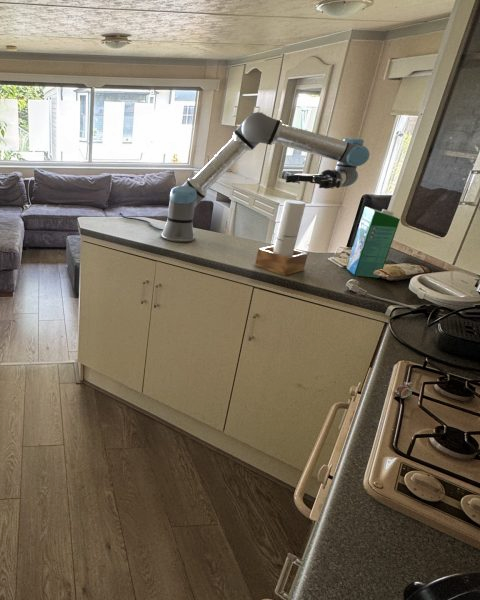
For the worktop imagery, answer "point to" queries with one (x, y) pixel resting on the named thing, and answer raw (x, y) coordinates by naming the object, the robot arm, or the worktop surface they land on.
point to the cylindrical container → (289, 227)
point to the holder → (280, 261)
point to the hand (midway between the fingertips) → (303, 181)
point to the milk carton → (372, 242)
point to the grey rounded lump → (403, 391)
